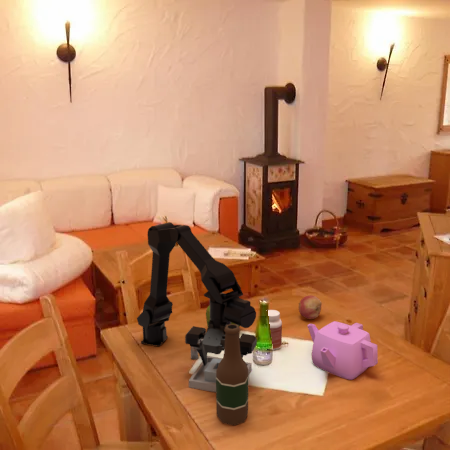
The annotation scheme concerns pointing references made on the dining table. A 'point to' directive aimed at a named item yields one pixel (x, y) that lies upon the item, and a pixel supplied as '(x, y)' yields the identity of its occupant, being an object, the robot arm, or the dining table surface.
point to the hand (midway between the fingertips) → (220, 367)
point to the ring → (211, 370)
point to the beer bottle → (232, 381)
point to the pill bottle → (275, 328)
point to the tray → (199, 380)
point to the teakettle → (342, 349)
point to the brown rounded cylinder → (194, 353)
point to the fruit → (310, 307)
